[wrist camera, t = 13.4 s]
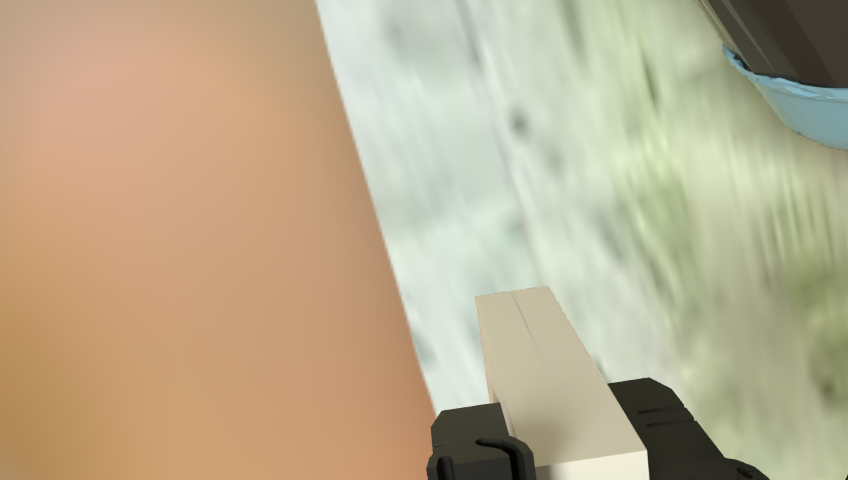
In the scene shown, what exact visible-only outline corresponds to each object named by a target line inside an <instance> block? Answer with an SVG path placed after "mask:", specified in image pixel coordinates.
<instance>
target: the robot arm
mask: <svg viewBox="0 0 848 480" xmlns="http://www.w3.org/2000/svg"><path fill="white" fill-rule="evenodd" d="M695 1H696V2H697V4H698V5H699V7H700V8H701V10H702V12H703V13H704V15H705V16H706V18H707V19H708V21H709V22H710V24H711V25H712V27H713V28H714V30H715V31H716V33H717V34H718V36H719V37H720V39H721V40H722V42H723V52H724V54H725V55H726V57H727V59H728V60H729V62H730V63H731V64H732V66H733V67H734V68H735V69H736V70H737V71H738V72H740V73H741V74H742V75H744V76H745V77H747V78H748V79H750V80H751V82H752V83H753V84H754V86H755V87H756V88H757V90H758V91H759V93H760V94H761V95H762V97H763V98H764V99H765V101H766V102H767V103H768V105H769V106H770V107H771V109H772V110H773V112H774V113H775V114H776V116H777V117H778V118H779V119H780V120H781V121H782V122H783V123H784V124H785V125H786V126H787V127H788V128H790V129H791V130H792V131H793V132H795V133H797V134H798V135H801V136H805V137H808V138H810V139H811V140H813V141H814V142H817V143H820V144H822V145H823V146H827V147H830V148H834V149H840V150H846V151H848V0H695ZM475 300H476V307H477V315H478V322H479V329H480V336H481V344H482V351H483V358H484V365H485V373H486V380H487V387H488V394H489V402H490V404H484V405H477V406H471V407H464V408H457V409H450V410H444V411H441V413H440V414H439V416H438V417H437V419H436V420H435V422H434V424H433V425H432V426H431V436H432V447H433V455H432V456H431V457H430V458H429V461H428V465H427V469H426V470H427V476H428V480H769V478H768V477H767V476H765V475H764V474H763V473H762V472H760V471H759V470H758V469H757V468H755V467H754V466H751V465H749V464H746V463H744V462H741V461H738V460H735V459H729V458H725V457H724V456H723V454H722V453H721V452H720V451H719V449H718V448H717V447H716V445H715V444H714V443H713V442H712V440H711V439H710V438H709V436H708V435H707V434H706V433H705V431H704V430H703V429H702V427H701V426H700V425H699V424H698V422H697V421H694V417H693V416H692V415H691V413H690V412H689V411H688V409H687V408H684V404H683V403H682V402H681V400H680V399H679V398H678V397H677V395H676V394H675V393H674V391H673V390H672V389H671V388H669V387H667V386H665V385H663V384H661V383H659V382H657V381H655V380H653V379H651V378H642V379H636V380H629V381H622V382H615V383H609V384H607V383H606V381H605V380H604V378H603V377H602V375H601V373H600V372H599V370H598V368H597V367H596V365H595V363H594V362H593V360H592V358H591V357H590V355H589V353H588V352H587V350H586V348H585V347H584V345H583V343H582V342H581V340H580V338H579V337H578V335H577V333H576V332H575V330H574V328H573V327H572V325H571V323H570V322H569V320H568V318H567V317H566V315H565V313H564V312H563V310H562V308H561V307H560V305H559V303H558V302H557V300H556V298H555V297H554V295H553V293H552V292H551V290H550V288H549V287H548V286H542V287H535V288H528V289H522V290H515V291H508V292H502V293H495V294H488V295H482V296H475ZM845 480H848V475H847V477H846V479H845Z"/></svg>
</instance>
